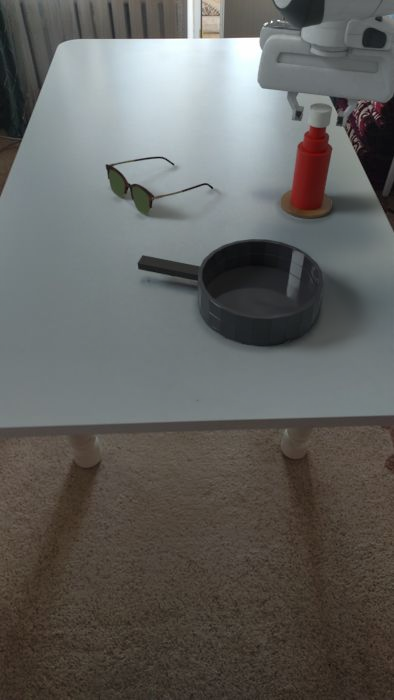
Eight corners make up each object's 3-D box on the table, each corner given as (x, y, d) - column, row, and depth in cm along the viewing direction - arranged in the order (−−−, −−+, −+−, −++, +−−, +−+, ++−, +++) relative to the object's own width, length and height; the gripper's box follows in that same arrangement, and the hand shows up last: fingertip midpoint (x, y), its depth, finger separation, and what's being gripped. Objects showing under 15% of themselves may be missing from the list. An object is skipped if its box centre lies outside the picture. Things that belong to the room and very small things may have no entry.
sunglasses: (106, 188, 101) (104, 162, 98) (169, 168, 108) (170, 143, 105) (153, 221, 93) (153, 194, 90) (217, 197, 101) (220, 172, 97)
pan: (326, 277, 83) (332, 250, 79) (306, 357, 72) (312, 330, 68) (217, 257, 87) (218, 230, 83) (182, 330, 75) (181, 302, 72)
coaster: (335, 195, 99) (335, 192, 98) (327, 222, 93) (328, 219, 93) (285, 187, 101) (286, 184, 100) (275, 213, 95) (275, 210, 95)
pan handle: (203, 273, 80) (203, 266, 79) (198, 281, 78) (198, 275, 78) (143, 261, 82) (142, 254, 81) (138, 269, 80) (137, 262, 80)
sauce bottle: (324, 195, 98) (341, 102, 86) (319, 212, 94) (336, 117, 82) (293, 191, 99) (306, 98, 87) (287, 207, 95) (299, 112, 83)
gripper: (255, 24, 76) (249, 122, 86) (407, 38, 72) (382, 139, 82) (266, 11, 81) (259, 106, 91) (410, 23, 76) (386, 121, 86)
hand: (318, 122), depth 86 cm, fingers open, 5 cm apart
